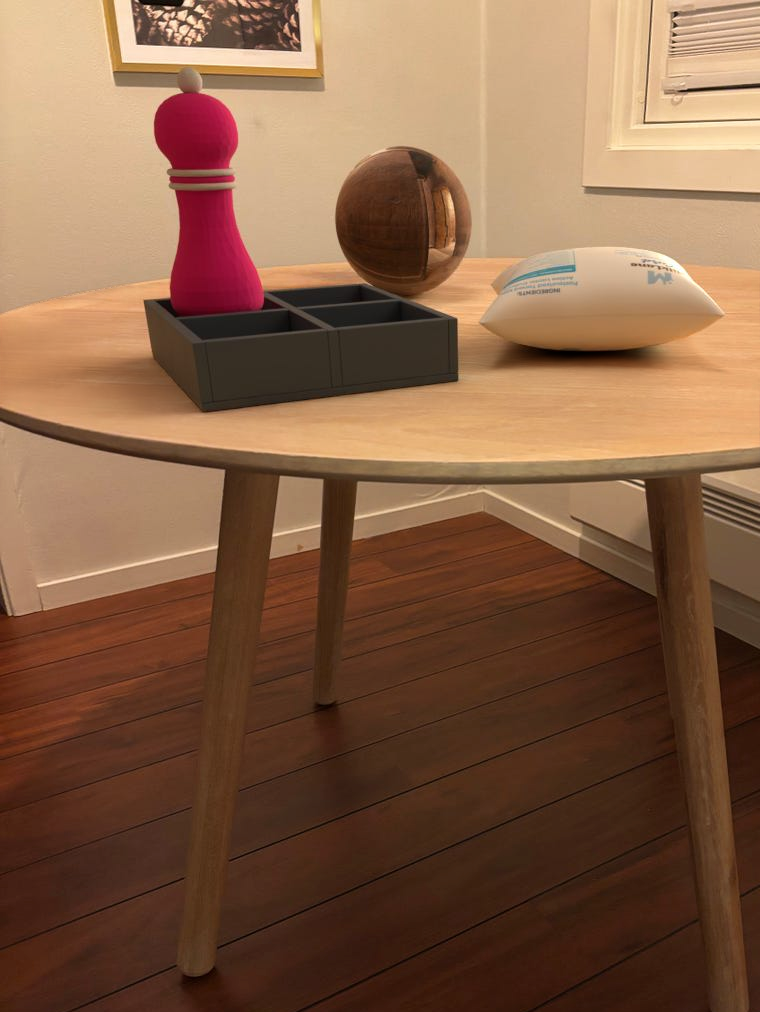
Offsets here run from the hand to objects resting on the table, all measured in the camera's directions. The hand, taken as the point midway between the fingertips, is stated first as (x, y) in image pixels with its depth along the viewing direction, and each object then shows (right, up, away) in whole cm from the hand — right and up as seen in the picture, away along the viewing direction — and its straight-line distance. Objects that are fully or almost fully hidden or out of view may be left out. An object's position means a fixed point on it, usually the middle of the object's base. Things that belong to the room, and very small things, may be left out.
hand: (174, 0), depth 66 cm
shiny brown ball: (+13, -5, +42) cm, 44 cm away
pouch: (+31, -19, +18) cm, 41 cm away
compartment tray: (+7, -23, +10) cm, 26 cm away
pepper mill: (0, -21, +12) cm, 24 cm away
